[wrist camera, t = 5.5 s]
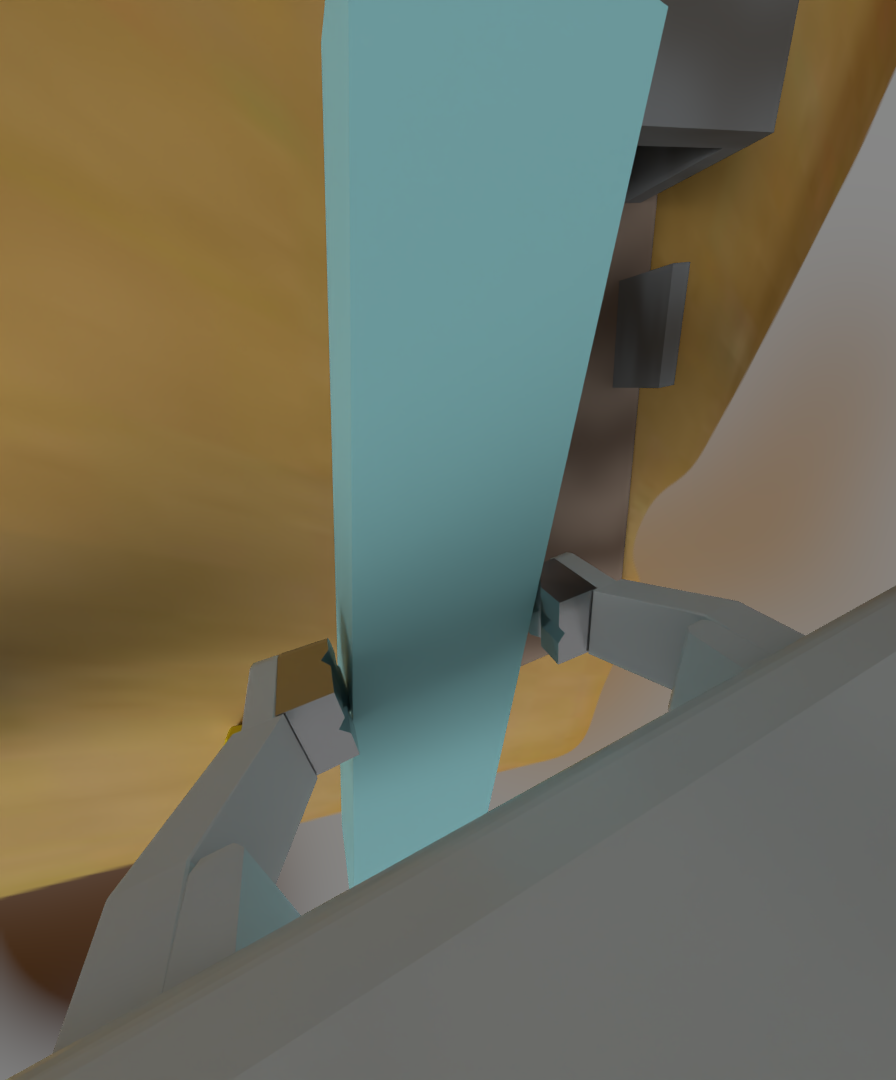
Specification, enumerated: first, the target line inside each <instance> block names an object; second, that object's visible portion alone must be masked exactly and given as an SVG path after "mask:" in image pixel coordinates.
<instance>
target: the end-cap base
mask: <svg viewBox="0 0 896 1080" xmlns="http://www.w3.org/2000/svg"><path fill="white" fill-rule="evenodd" d="M660 1H662V2H663V3H664V4H666V5H667V6H668V10H667V15H666V19H665V24H664V28H663V33H662V37H661V41H660V46H659V50H658V55H657V59H656V64H655V68H654V73H653V77H652V82H651V86H650V90H649V95H648V99H647V104H646V108H645V113H644V117H643V122H642V126H641V131H640V135H639V140H638V144H637V148H636V153H635V157H634V162H633V166H632V171H631V175H630V180H629V184H628V189H627V193H626V197H625V202H624V206H623V211H622V215H621V220H620V224H619V229H618V233H617V238H616V242H615V246H614V251H613V255H612V260H611V264H610V269H609V273H608V278H607V282H606V287H605V291H604V296H603V300H602V304H601V309H600V313H599V318H598V322H597V327H596V331H595V336H594V340H593V345H592V349H591V353H590V358H589V362H588V367H587V371H586V376H585V380H584V385H583V389H582V394H581V398H580V403H579V407H578V411H577V416H576V420H575V425H574V429H573V434H572V438H571V443H570V447H569V452H568V456H567V460H566V465H565V469H564V474H563V478H562V483H561V487H560V492H559V496H558V501H557V505H556V510H555V514H554V518H553V523H552V527H551V532H550V536H549V541H548V545H547V550H546V554H545V559H544V561H547V560H550V559H551V558H553V557H556V556H558V555H561V554H564V553H566V552H568V553H573V554H575V555H576V556H578V557H579V558H581V559H582V560H584V561H586V562H587V563H589V564H590V565H592V566H594V567H595V568H597V569H598V570H600V571H601V572H603V573H605V574H606V575H608V576H609V577H611V578H613V579H614V580H616V581H618V580H621V579H622V569H623V558H624V547H625V537H626V526H627V515H628V504H629V494H630V483H631V472H632V462H633V451H634V440H635V429H636V419H637V408H638V397H639V388H661V387H665V386H670V385H674V380H675V373H676V365H677V358H678V350H679V343H680V335H681V328H682V320H683V313H684V305H685V298H686V290H687V283H688V275H689V267H690V262H684V263H673V264H670V265H667V266H664V267H661V268H658V269H654V270H651V271H650V268H651V258H652V247H653V236H654V226H655V215H656V204H657V194H658V193H660V192H662V191H664V190H666V189H668V188H669V187H671V186H673V185H675V184H677V183H679V182H681V181H683V180H685V179H686V178H688V177H690V176H692V175H694V174H696V173H698V172H700V171H702V170H703V169H705V168H707V167H709V166H711V165H713V164H715V163H717V162H719V161H720V160H722V159H724V158H726V157H728V156H730V155H732V154H734V153H736V152H737V151H739V150H741V149H743V148H745V147H747V146H749V145H751V144H753V143H754V142H756V141H758V140H760V139H762V138H764V137H766V136H768V135H770V134H772V133H773V132H774V128H775V123H776V118H777V113H778V107H779V102H780V97H781V92H782V87H783V81H784V76H785V71H786V66H787V61H788V55H789V50H790V45H791V40H792V35H793V29H794V24H795V19H796V14H797V8H798V3H799V0H660ZM545 655H548V653H547V652H546V651H545V650H544V649H543V648H542V646H541V638H540V637H537V636H534V635H531V634H530V633H529V632H528V634H527V639H526V643H525V648H524V652H523V657H522V661H521V666H522V665H525V664H527V663H529V662H532V661H534V660H536V659H538V658H541V657H543V656H545Z"/></svg>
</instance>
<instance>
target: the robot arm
mask: <svg viewBox="0 0 896 1080" xmlns="http://www.w3.org/2000/svg"><path fill="white" fill-rule="evenodd" d="M528 632H529V633H530V634H531V635H534V636H537V637H540V638H541V646H542V648H543V649H544V650H545V651H546V652H547V653H548V654H549V655H550V656H551V657H552V658H553V659H554V660H555V661H556V663H557V664H560V663H563V662H565V661H567V660H570V659H572V658H575V657H577V656H579V655H582V654H584V653H586V652H589V654H591V655H593V656H595V657H598V658H600V659H602V660H605V661H607V662H609V663H612V664H614V665H617V666H619V667H621V668H623V669H625V670H628V671H630V672H632V673H635V674H637V675H640V676H642V677H644V678H646V679H648V680H651V681H653V682H656V683H658V684H660V685H662V686H665V687H667V688H669V689H671V690H672V693H671V698H670V701H669V705H668V711H669V712H667V713H665V714H664V715H662V716H660V717H658V718H657V719H655V720H653V721H651V722H649V723H647V724H646V725H644V726H642V727H640V728H638V729H637V730H635V731H633V732H631V733H630V734H628V735H626V736H624V737H622V738H621V739H619V740H617V741H615V742H613V743H611V744H610V745H608V746H606V747H604V748H602V749H601V750H599V751H597V752H595V753H594V754H591V755H590V756H588V757H586V758H584V759H583V760H581V761H579V762H577V763H575V764H574V765H572V766H570V767H568V768H566V769H564V770H563V771H561V772H559V773H557V774H556V775H554V776H552V777H550V778H548V779H547V780H545V781H543V782H541V783H539V784H538V785H536V786H534V787H532V788H530V789H529V790H527V791H525V792H523V793H522V794H520V795H518V796H516V797H514V798H513V799H511V800H509V801H507V802H505V803H504V804H502V805H500V806H498V807H496V808H494V809H493V810H491V811H489V812H487V813H485V814H484V815H482V816H480V817H478V818H476V819H475V820H473V821H471V822H469V823H467V824H466V825H464V826H462V827H460V828H458V829H457V830H455V831H453V832H451V833H449V834H448V835H446V836H444V837H442V838H440V839H439V840H437V841H435V842H433V843H431V844H430V845H428V846H426V847H424V848H422V849H421V850H419V851H417V852H415V853H413V854H412V855H410V856H408V857H406V858H404V859H403V860H401V861H399V862H397V863H395V864H394V865H392V866H390V867H388V868H386V869H385V870H383V871H381V872H379V873H377V874H376V875H374V876H372V877H370V878H368V879H367V880H365V881H363V882H361V883H359V884H358V885H356V886H354V887H352V888H350V889H349V890H347V891H345V892H343V893H342V894H340V895H338V896H336V897H334V898H332V899H331V900H329V901H327V902H325V903H323V904H322V905H320V906H318V907H316V908H314V909H313V910H311V911H309V912H307V913H305V914H304V915H302V916H301V915H300V914H299V913H298V912H297V910H296V909H295V908H294V907H293V906H292V904H291V903H290V902H289V901H288V900H287V898H286V897H285V896H284V895H283V893H282V892H281V891H280V890H279V889H278V888H277V886H276V882H277V880H278V877H279V875H280V872H281V870H282V867H283V864H284V862H285V859H286V857H287V854H288V852H289V849H290V847H291V844H292V842H293V839H294V836H295V834H296V831H297V829H298V826H299V824H300V821H301V819H302V816H303V814H304V811H305V808H306V806H307V803H308V801H309V798H310V796H311V793H312V791H313V788H314V786H315V783H316V780H317V776H316V775H319V774H321V773H323V772H325V771H327V770H329V769H331V768H333V767H335V766H337V765H339V764H341V763H343V762H345V761H347V760H349V759H351V758H354V757H356V756H358V755H360V753H359V747H358V742H357V736H356V730H355V726H354V723H353V720H352V718H351V715H350V711H351V709H350V701H349V696H348V690H347V686H346V683H345V680H344V677H343V674H342V671H341V668H340V666H337V665H336V659H335V653H334V650H333V648H332V645H331V643H330V641H329V639H328V638H327V639H324V640H321V641H317V642H314V643H311V644H308V645H305V646H302V647H299V648H296V649H293V650H290V651H287V652H284V653H281V654H279V655H276V656H273V657H270V658H267V659H264V660H261V661H258V662H256V663H253V665H252V666H251V668H250V672H249V679H248V686H247V693H246V701H245V708H244V715H243V722H242V729H241V731H239V732H237V733H235V734H232V736H231V737H230V738H229V740H228V741H227V742H226V744H225V745H224V746H223V748H222V749H221V750H220V752H219V753H218V754H217V755H216V757H215V758H214V759H213V761H212V762H211V763H210V765H209V766H208V767H207V769H206V770H205V771H204V772H203V774H202V775H201V776H200V778H199V779H198V780H197V782H196V783H195V784H194V786H193V787H192V788H191V790H190V791H189V792H188V793H187V795H186V796H185V797H184V799H183V800H182V801H181V803H180V804H179V805H178V807H177V808H176V809H175V811H174V812H173V813H172V814H171V816H170V817H169V818H168V820H167V821H166V822H165V824H164V825H163V826H162V828H161V829H160V830H159V832H158V833H157V834H156V835H155V837H154V838H153V839H152V841H151V842H150V843H149V845H148V846H147V847H146V849H145V850H144V851H143V853H142V854H141V855H140V856H139V858H138V859H137V860H136V862H135V863H134V864H133V866H132V867H131V868H130V870H129V871H128V872H127V874H126V875H125V876H124V878H123V879H122V880H121V881H120V883H119V884H118V885H117V887H116V888H115V889H114V891H113V892H112V893H111V895H110V896H109V897H108V899H107V900H106V903H105V906H104V909H103V912H102V914H101V917H100V920H99V923H98V926H97V929H96V932H95V934H94V938H93V940H92V943H91V946H90V949H89V951H88V954H87V957H86V960H85V963H84V966H83V969H82V971H81V974H80V977H79V980H78V983H77V986H76V988H75V991H74V994H73V997H72V1000H71V1003H70V1006H69V1008H68V1011H67V1014H66V1017H65V1020H64V1023H63V1025H62V1028H61V1031H60V1034H59V1037H58V1040H57V1043H56V1045H55V1048H54V1051H53V1054H52V1055H50V1056H48V1057H46V1058H44V1059H43V1060H41V1061H39V1062H37V1063H35V1064H34V1065H32V1066H30V1067H28V1068H26V1069H25V1070H23V1071H21V1072H19V1073H17V1074H16V1075H14V1076H12V1077H10V1078H8V1079H7V1080H896V586H894V587H892V588H890V589H889V590H887V591H885V592H883V593H882V594H880V595H878V596H876V597H874V598H873V599H871V600H869V601H867V602H865V603H864V604H862V605H860V606H858V607H856V608H855V609H853V610H851V611H850V612H847V613H846V614H844V615H842V616H840V617H838V618H837V619H835V620H833V621H831V622H829V623H828V624H826V625H824V626H822V627H820V628H819V629H817V630H815V631H813V632H811V633H810V634H808V635H806V636H805V635H803V634H801V633H799V632H797V631H795V630H794V629H791V628H790V627H788V626H786V625H784V624H782V623H780V622H777V621H776V620H774V619H772V618H770V617H768V616H766V615H764V614H762V613H760V612H758V611H756V610H754V609H752V608H750V607H748V606H746V605H745V604H743V603H741V602H739V601H734V600H729V599H723V598H719V597H714V596H708V595H702V594H698V593H692V592H686V591H682V590H677V589H671V588H666V587H660V586H655V585H650V584H645V583H640V582H634V581H629V580H624V579H621V580H618V581H616V580H614V579H613V578H611V577H609V576H608V575H606V574H605V573H603V572H601V571H600V570H598V569H597V568H595V567H594V566H592V565H590V564H589V563H587V562H586V561H584V560H582V559H581V558H579V557H578V556H576V555H575V554H573V553H568V552H566V553H564V554H561V555H558V556H556V557H553V558H551V559H550V560H547V561H544V563H543V567H542V572H541V576H540V581H539V585H538V590H537V594H536V599H535V603H534V608H533V612H532V616H531V621H530V625H529V630H528Z"/></svg>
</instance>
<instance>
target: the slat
mask: <svg viewBox="0 0 896 1080" xmlns="http://www.w3.org/2000/svg"><path fill="white" fill-rule="evenodd" d="M667 10H668V6H667V5H666V4H664V3H663V2H662V1H660V0H325V9H324V19H323V30H322V41H321V52H322V89H323V127H324V165H325V203H326V240H327V278H328V316H329V353H330V391H331V429H332V467H333V504H334V542H335V580H336V617H337V655H338V666H340V668H341V671H342V674H343V677H344V680H345V683H346V686H347V690H348V696H349V701H350V709H351V711H350V715H351V718H352V720H353V723H354V726H355V730H356V736H357V742H358V747H359V753H360V755H358V756H356V757H354V758H351V759H349V760H347V761H345V762H343V763H341V764H340V768H341V806H342V829H343V838H344V846H345V855H346V864H347V873H348V881H349V889H350V888H352V887H354V886H356V885H358V884H359V883H361V882H363V881H365V880H367V879H368V878H370V877H372V876H374V875H376V874H377V873H379V872H381V871H383V870H385V869H386V868H388V867H390V866H392V865H394V864H395V863H397V862H399V861H401V860H403V859H404V858H406V857H408V856H410V855H412V854H413V853H415V852H417V851H419V850H421V849H422V848H424V847H426V846H428V845H430V844H431V843H433V842H435V841H437V840H439V839H440V838H442V837H444V836H446V835H448V834H449V833H451V832H453V831H455V830H457V829H458V828H460V827H462V826H464V825H466V824H467V823H469V822H471V821H473V820H475V819H476V818H478V817H480V816H482V815H484V814H485V813H487V812H488V808H489V804H490V799H491V795H492V790H493V786H494V781H495V777H496V773H497V768H498V764H499V759H500V755H501V750H502V746H503V741H504V737H505V732H506V728H507V723H508V719H509V715H510V710H511V706H512V701H513V697H514V692H515V688H516V683H517V679H518V674H519V670H520V666H521V661H522V657H523V652H524V648H525V643H526V639H527V634H528V630H529V625H530V621H531V616H532V612H533V608H534V603H535V599H536V594H537V590H538V585H539V581H540V576H541V572H542V567H543V563H544V559H545V554H546V550H547V545H548V541H549V536H550V532H551V527H552V523H553V518H554V514H555V510H556V505H557V501H558V496H559V492H560V487H561V483H562V478H563V474H564V469H565V465H566V460H567V456H568V452H569V447H570V443H571V438H572V434H573V429H574V425H575V420H576V416H577V411H578V407H579V403H580V398H581V394H582V389H583V385H584V380H585V376H586V371H587V367H588V362H589V358H590V353H591V349H592V345H593V340H594V336H595V331H596V327H597V322H598V318H599V313H600V309H601V304H602V300H603V296H604V291H605V287H606V282H607V278H608V273H609V269H610V264H611V260H612V255H613V251H614V246H615V242H616V238H617V233H618V229H619V224H620V220H621V215H622V211H623V206H624V202H625V197H626V193H627V189H628V184H629V180H630V175H631V171H632V166H633V162H634V157H635V153H636V148H637V144H638V140H639V135H640V131H641V126H642V122H643V117H644V113H645V108H646V104H647V99H648V95H649V90H650V86H651V82H652V77H653V73H654V68H655V64H656V59H657V55H658V50H659V46H660V41H661V37H662V33H663V28H664V24H665V19H666V15H667Z"/></svg>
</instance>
